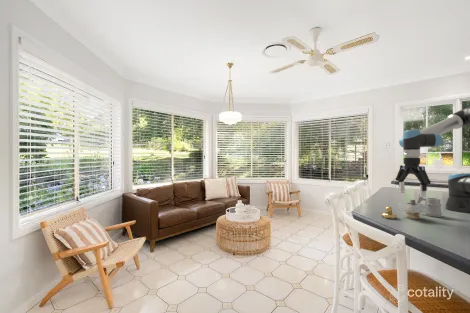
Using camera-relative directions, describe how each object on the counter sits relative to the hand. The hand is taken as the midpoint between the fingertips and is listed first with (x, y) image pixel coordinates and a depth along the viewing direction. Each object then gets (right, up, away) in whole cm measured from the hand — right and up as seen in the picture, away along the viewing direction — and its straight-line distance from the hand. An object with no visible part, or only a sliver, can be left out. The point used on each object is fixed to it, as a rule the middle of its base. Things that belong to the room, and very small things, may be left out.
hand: (411, 194), depth 130 cm
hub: (-12, -13, +2) cm, 18 cm away
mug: (+14, -13, +5) cm, 20 cm away
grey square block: (+1, -9, 0) cm, 9 cm away
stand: (+1, -13, 0) cm, 13 cm away
